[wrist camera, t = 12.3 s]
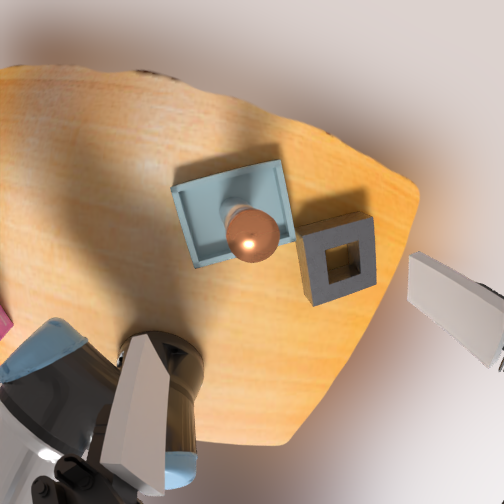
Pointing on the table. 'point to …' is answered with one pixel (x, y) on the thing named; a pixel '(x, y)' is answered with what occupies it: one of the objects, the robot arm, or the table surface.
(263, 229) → the pin
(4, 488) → the robot arm
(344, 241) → the block
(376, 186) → the table surface
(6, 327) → the gum box
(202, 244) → the tray
